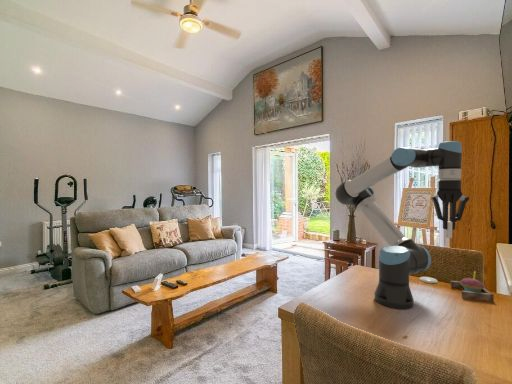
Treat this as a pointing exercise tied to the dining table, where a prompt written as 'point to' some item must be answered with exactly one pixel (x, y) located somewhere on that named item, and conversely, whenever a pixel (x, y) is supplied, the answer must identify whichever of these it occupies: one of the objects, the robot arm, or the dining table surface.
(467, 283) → the cupcake
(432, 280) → the white round domed disc
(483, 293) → the bay
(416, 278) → the dining table surface
